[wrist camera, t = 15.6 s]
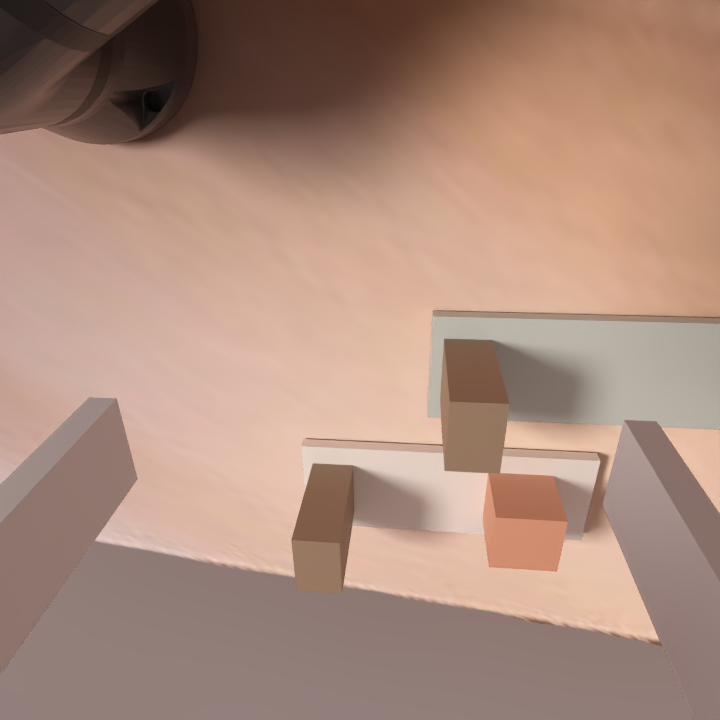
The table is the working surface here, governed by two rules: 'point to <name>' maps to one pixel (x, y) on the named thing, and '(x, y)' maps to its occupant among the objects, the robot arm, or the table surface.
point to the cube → (523, 522)
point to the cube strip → (409, 497)
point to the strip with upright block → (566, 375)
